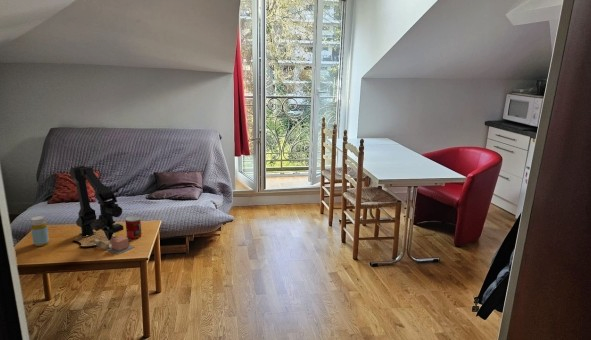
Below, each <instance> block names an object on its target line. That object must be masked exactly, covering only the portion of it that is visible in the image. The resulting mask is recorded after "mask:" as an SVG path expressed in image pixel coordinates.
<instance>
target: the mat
mask: <svg viewBox="0 0 591 340" xmlns="http://www.w3.org/2000/svg"><path fill="white" fill-rule="evenodd" d="M134 248H135V246H133V245H131V244H129V247H127V248H125V249H123V250H120V251H118V250H115V249H113V248H111V249H108V250H107V251H108V252H110V253H113V254H116V255H120V254H122V253H125V252H127V251H129V250H131V249H134Z"/></svg>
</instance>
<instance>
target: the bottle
mask: <svg viewBox="0 0 591 340" xmlns="http://www.w3.org/2000/svg"><path fill="white" fill-rule="evenodd" d="M30 223H31V226H30V230H31V236H32V241H33V245H34V246H35V247H38V248H39V247H44V246H47V245H48V244H50V243H49V242H50V239H49V230H48V225H47V223H46V218H45V216H44V215H36V216H33V217H31V218H30Z"/></svg>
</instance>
